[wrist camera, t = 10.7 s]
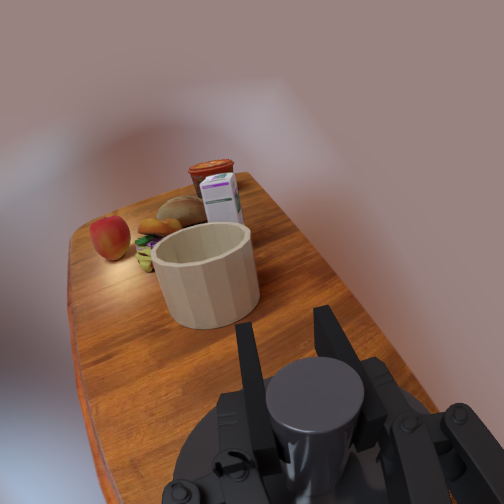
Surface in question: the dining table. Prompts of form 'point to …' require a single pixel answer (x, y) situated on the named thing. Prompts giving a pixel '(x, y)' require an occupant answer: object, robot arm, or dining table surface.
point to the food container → (209, 171)
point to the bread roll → (183, 210)
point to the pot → (208, 274)
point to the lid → (306, 437)
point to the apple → (110, 237)
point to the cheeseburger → (153, 238)
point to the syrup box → (222, 198)
